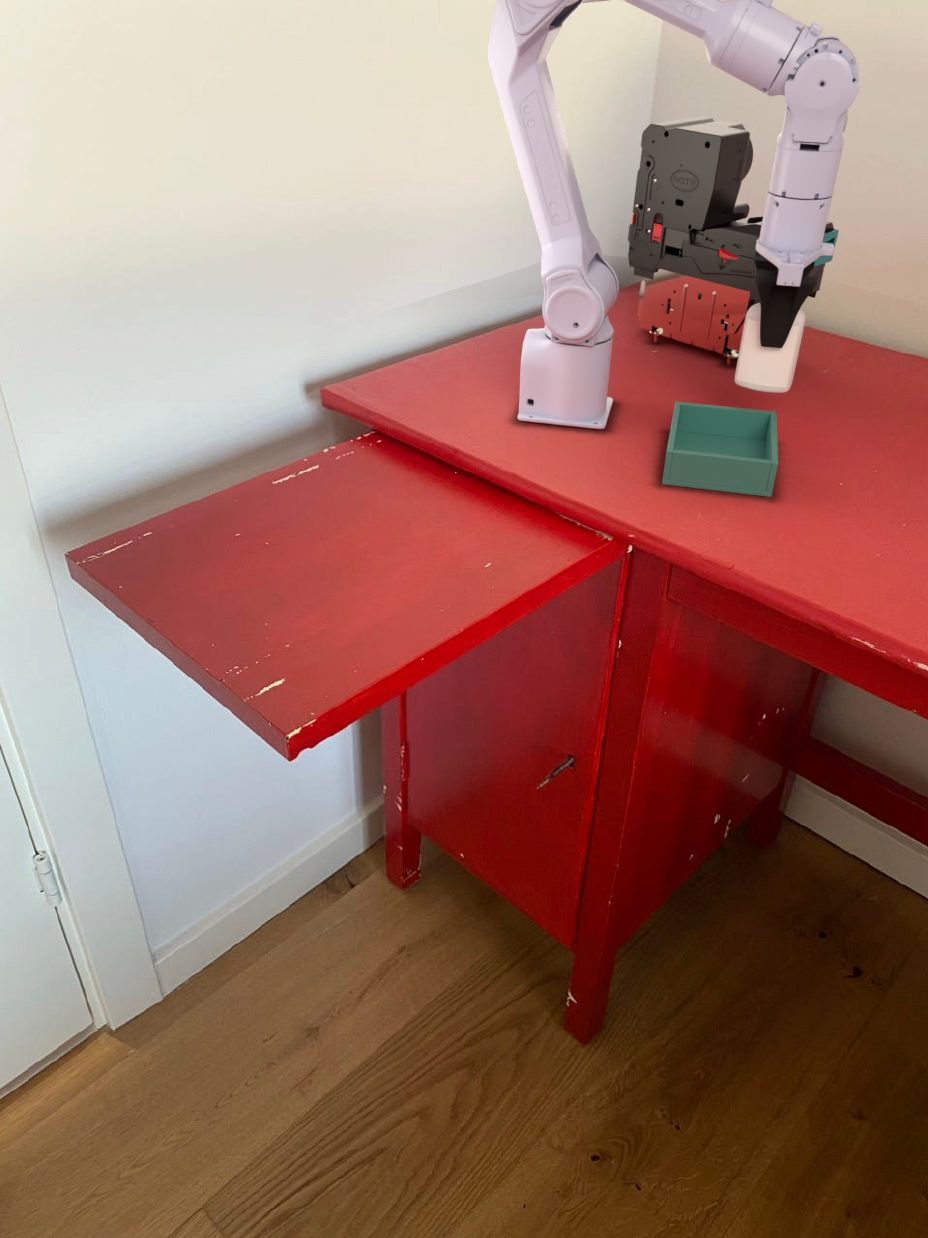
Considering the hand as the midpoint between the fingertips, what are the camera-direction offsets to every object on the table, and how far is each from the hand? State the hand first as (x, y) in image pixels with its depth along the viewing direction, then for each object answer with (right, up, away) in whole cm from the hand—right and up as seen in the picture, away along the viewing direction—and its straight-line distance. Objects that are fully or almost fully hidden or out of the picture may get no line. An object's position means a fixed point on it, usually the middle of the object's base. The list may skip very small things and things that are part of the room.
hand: (771, 339), depth 97 cm
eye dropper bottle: (0, -4, +3) cm, 5 cm away
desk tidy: (-5, -12, +1) cm, 13 cm away
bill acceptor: (+1, +7, +28) cm, 29 cm away
